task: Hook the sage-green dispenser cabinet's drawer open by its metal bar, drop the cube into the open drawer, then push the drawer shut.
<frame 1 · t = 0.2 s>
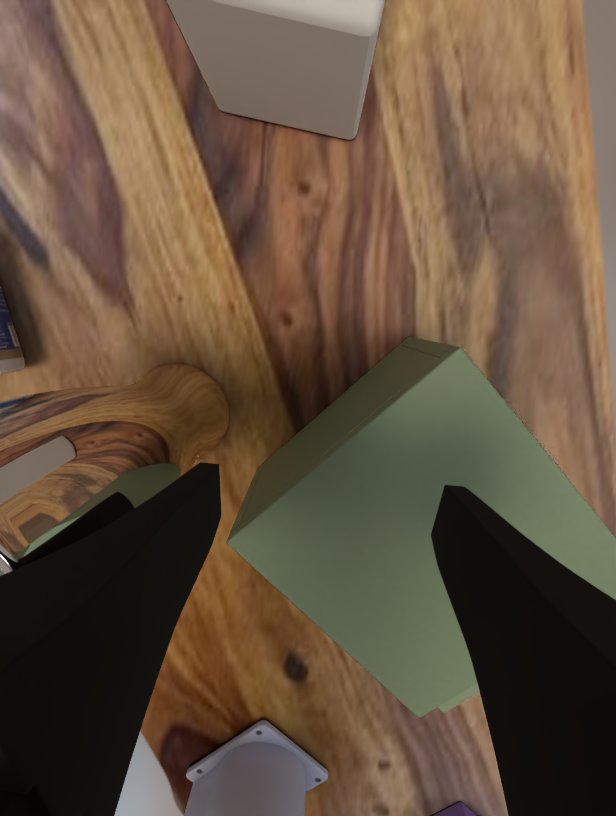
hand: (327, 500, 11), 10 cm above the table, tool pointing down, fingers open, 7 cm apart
drawer: (461, 564, 19), point 4 cm above the table, slide at 0.5 cm
beer glass: (183, 411, 21), on the table
cabinet: (397, 480, 22), on the table
medicine bottle: (300, 46, 17), on the table
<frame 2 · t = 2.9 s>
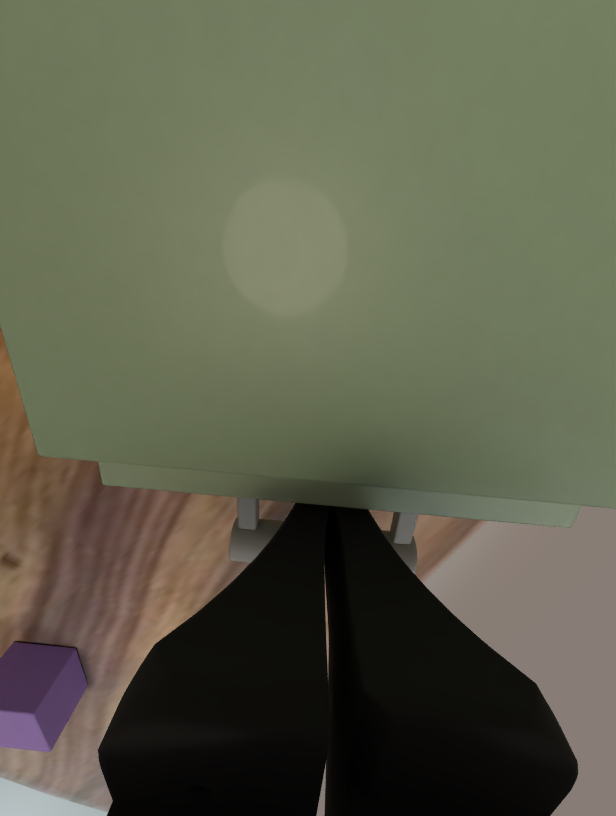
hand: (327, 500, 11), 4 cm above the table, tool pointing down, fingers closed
drawer: (346, 312, 9), point 4 cm above the table, slide at 0.1 cm
cabinet: (354, 173, 11), on the table
cube: (52, 663, 23), on the table
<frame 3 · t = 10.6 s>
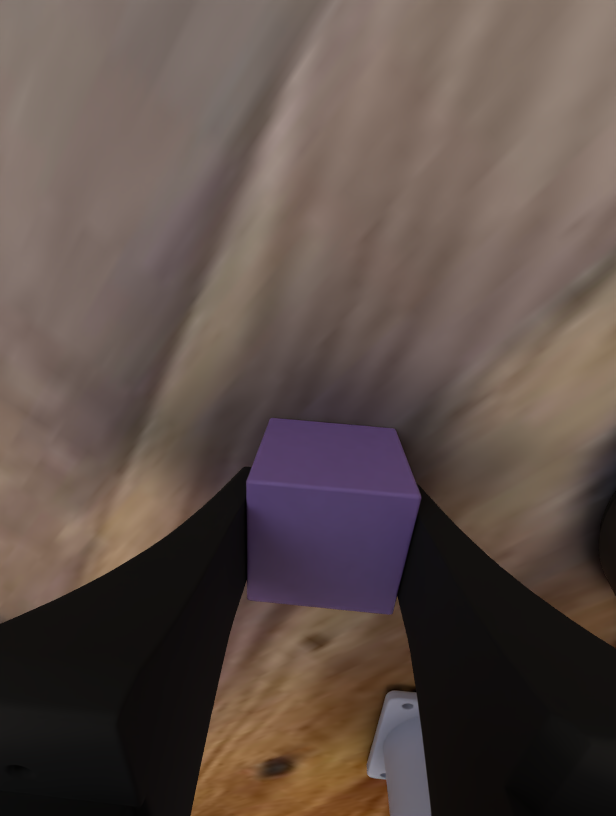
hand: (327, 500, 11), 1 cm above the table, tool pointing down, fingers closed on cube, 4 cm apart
cube: (327, 474, 12), on the table, touching gripper
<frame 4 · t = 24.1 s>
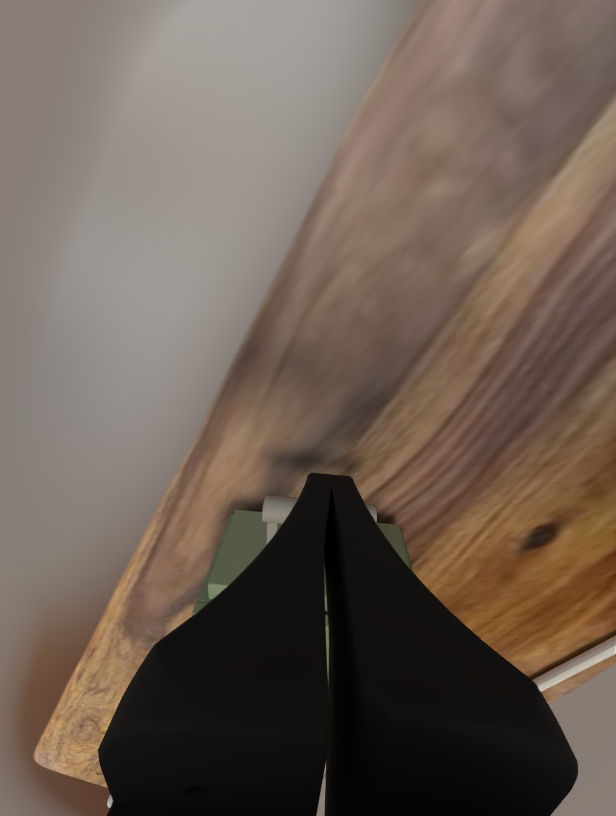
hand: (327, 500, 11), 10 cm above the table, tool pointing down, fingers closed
drawer: (310, 597, 22), point 4 cm above the table, slide at 0.0 cm, touching cube
pen: (538, 674, 30), on the table
cabinet: (309, 586, 27), on the table
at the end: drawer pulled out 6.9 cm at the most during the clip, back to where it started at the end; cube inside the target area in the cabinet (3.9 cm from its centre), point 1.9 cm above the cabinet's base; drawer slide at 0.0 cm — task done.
